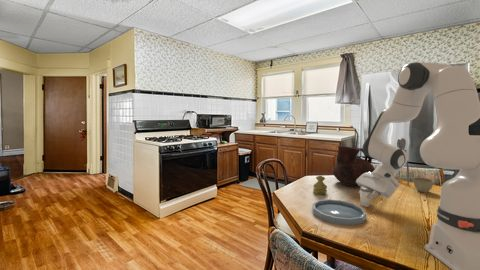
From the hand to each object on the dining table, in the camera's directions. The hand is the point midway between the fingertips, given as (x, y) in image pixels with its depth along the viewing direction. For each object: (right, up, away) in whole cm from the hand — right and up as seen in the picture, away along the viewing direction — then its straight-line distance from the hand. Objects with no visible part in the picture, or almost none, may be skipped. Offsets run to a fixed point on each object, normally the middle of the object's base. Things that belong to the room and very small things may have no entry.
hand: (364, 196), depth 120 cm
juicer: (+44, -2, +38) cm, 58 cm away
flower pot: (+47, -3, +23) cm, 52 cm away
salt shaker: (-16, -3, +18) cm, 25 cm away
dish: (-17, -5, -10) cm, 20 cm away
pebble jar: (+1, -5, +1) cm, 5 cm away
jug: (+11, -2, +36) cm, 38 cm away
